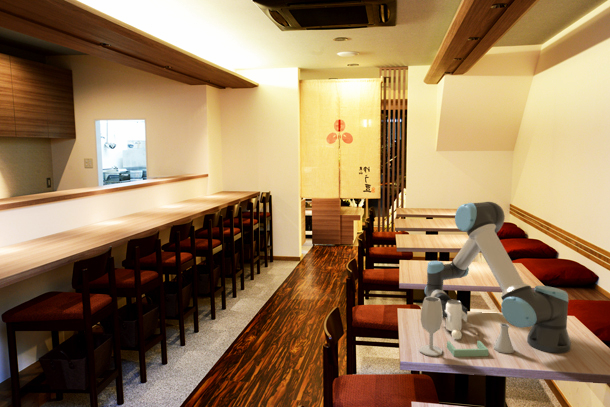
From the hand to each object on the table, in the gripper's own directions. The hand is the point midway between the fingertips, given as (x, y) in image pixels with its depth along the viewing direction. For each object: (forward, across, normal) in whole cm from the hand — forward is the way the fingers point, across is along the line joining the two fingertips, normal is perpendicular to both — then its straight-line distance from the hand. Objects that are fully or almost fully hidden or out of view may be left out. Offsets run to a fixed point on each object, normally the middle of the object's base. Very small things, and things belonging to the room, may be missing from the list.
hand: (458, 318), depth 184 cm
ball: (+2, +1, -6) cm, 7 cm away
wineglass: (+13, +15, -8) cm, 22 cm away
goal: (+13, +1, -8) cm, 15 cm away
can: (-5, 0, -7) cm, 9 cm away
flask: (+12, -14, -8) cm, 20 cm away
